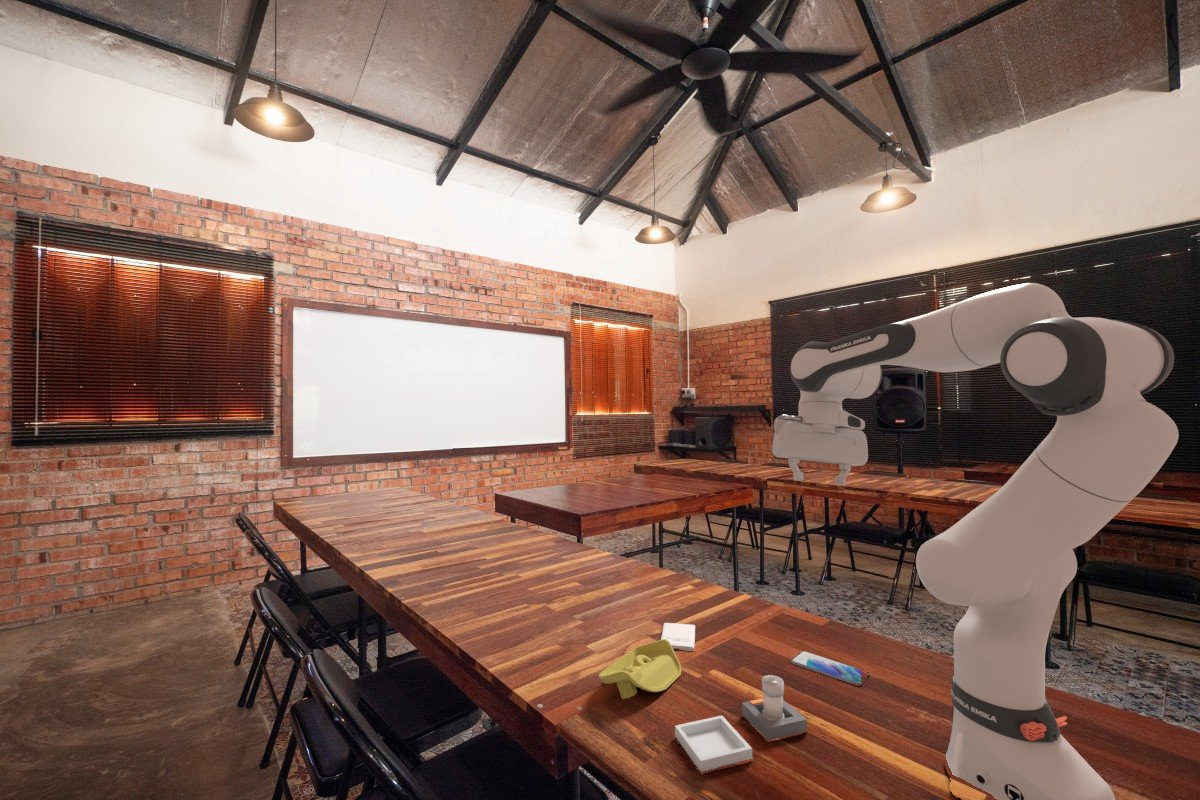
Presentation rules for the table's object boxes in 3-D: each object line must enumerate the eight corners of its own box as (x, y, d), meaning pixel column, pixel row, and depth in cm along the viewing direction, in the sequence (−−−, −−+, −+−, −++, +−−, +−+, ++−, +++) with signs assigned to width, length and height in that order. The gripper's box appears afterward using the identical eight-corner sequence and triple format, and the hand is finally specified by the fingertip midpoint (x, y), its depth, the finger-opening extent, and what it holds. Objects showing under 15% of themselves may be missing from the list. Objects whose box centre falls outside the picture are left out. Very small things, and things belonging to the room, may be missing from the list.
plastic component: (635, 647, 119) (671, 636, 115) (647, 680, 117) (684, 671, 112) (589, 680, 102) (629, 669, 98) (602, 719, 100) (644, 710, 96)
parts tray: (752, 761, 84) (752, 748, 84) (701, 774, 81) (700, 760, 81) (722, 727, 93) (722, 715, 93) (675, 738, 90) (674, 725, 90)
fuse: (789, 728, 92) (788, 684, 92) (771, 733, 91) (770, 687, 91) (775, 716, 96) (775, 673, 96) (758, 720, 95) (757, 677, 95)
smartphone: (802, 649, 121) (871, 672, 110) (802, 653, 121) (871, 676, 110) (789, 660, 115) (860, 685, 105) (789, 664, 115) (860, 689, 105)
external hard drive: (695, 631, 134) (694, 653, 121) (663, 628, 135) (659, 650, 123) (695, 624, 134) (694, 646, 121) (663, 622, 135) (659, 643, 123)
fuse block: (806, 733, 91) (806, 718, 91) (768, 742, 88) (767, 727, 88) (778, 708, 98) (778, 694, 98) (742, 716, 96) (741, 701, 96)
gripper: (781, 410, 107) (779, 477, 104) (872, 422, 109) (873, 487, 107) (768, 415, 113) (766, 478, 111) (854, 426, 116) (854, 488, 113)
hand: (819, 482), depth 109 cm, fingers open, 8 cm apart
